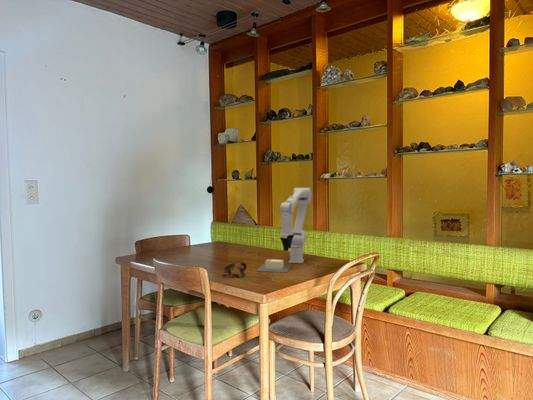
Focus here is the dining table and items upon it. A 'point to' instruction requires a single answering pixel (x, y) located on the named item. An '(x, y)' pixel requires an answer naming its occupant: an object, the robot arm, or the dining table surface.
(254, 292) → the dining table surface
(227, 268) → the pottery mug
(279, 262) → the box
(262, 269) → the mat
